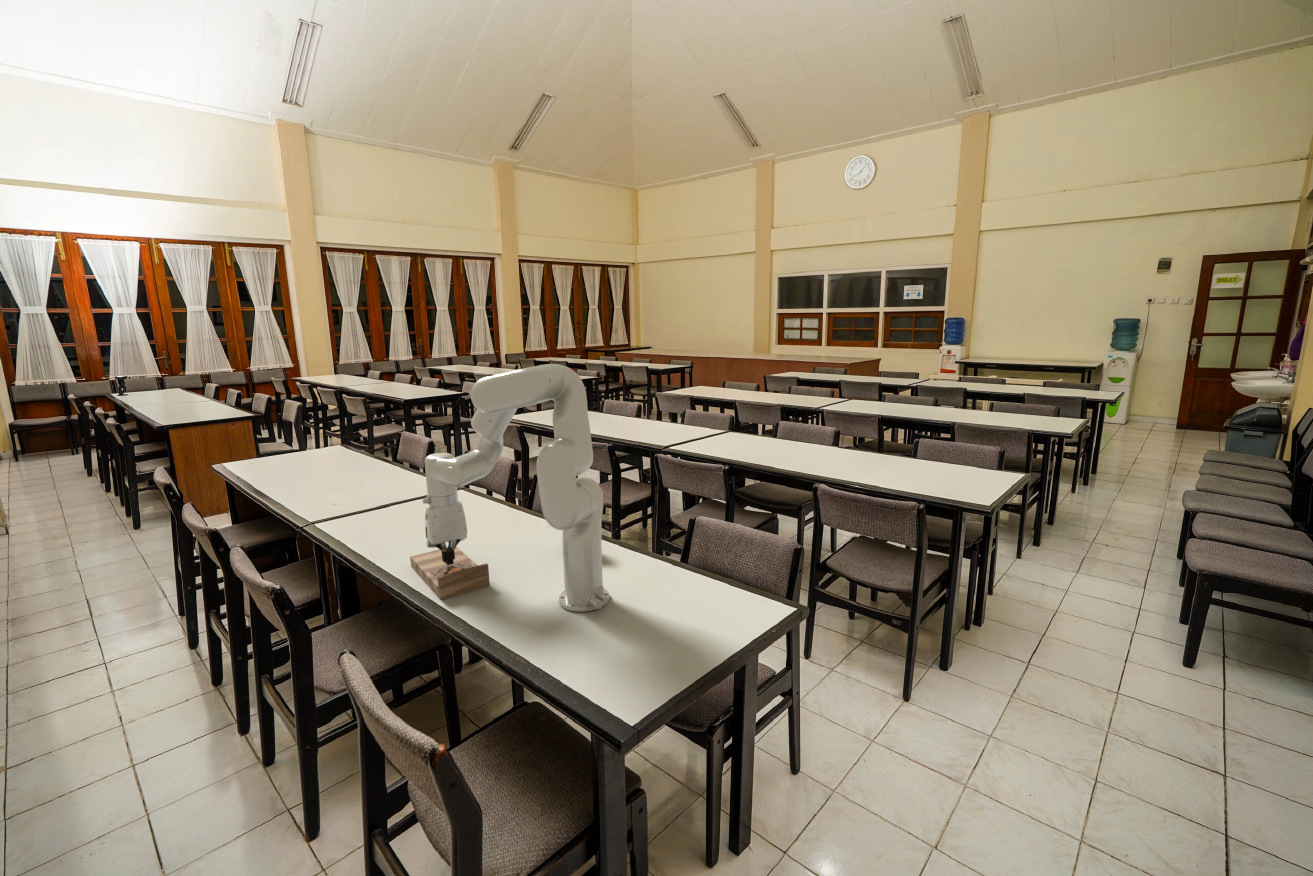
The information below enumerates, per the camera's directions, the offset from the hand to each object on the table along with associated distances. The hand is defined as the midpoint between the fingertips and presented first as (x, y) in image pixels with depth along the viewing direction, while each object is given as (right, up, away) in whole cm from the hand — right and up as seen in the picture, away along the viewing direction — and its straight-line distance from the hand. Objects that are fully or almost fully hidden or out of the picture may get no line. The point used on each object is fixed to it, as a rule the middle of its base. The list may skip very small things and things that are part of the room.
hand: (448, 563), depth 164 cm
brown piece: (-1, -4, +1) cm, 4 cm away
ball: (+3, -3, -4) cm, 6 cm away
